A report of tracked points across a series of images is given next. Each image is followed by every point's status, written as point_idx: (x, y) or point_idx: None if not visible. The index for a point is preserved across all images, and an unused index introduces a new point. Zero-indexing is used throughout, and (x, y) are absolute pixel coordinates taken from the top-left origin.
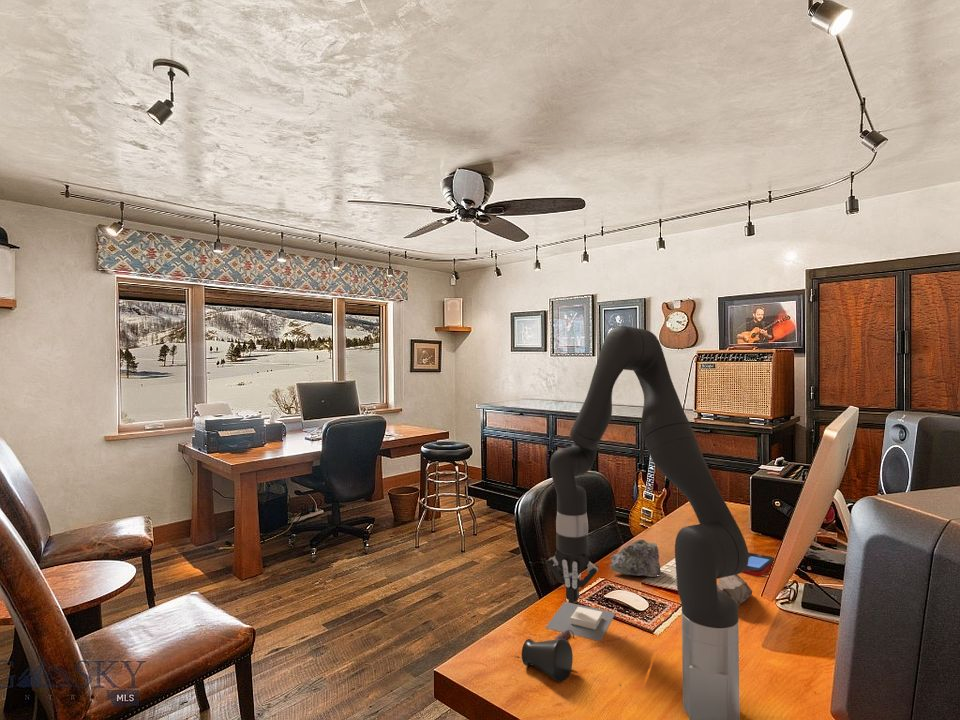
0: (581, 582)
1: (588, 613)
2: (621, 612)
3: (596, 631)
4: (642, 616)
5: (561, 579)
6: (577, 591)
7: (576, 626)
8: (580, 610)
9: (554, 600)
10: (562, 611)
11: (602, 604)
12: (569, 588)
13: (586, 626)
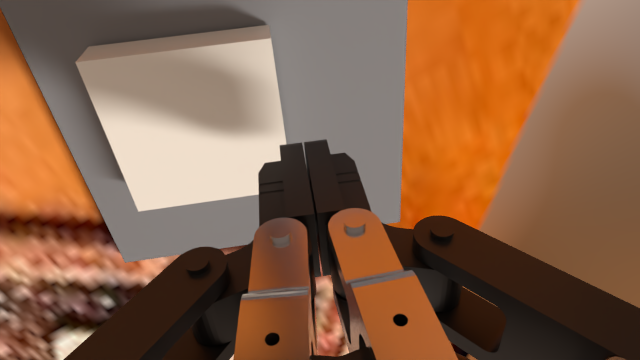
0: (198, 290)
1: (196, 153)
2: (119, 282)
3: (77, 32)
4: (18, 301)
5: (435, 246)
6: (259, 218)
7: (222, 19)
8: (258, 158)
9: (453, 215)
10: (375, 135)
11: None
12: (331, 207)
13: (154, 40)
